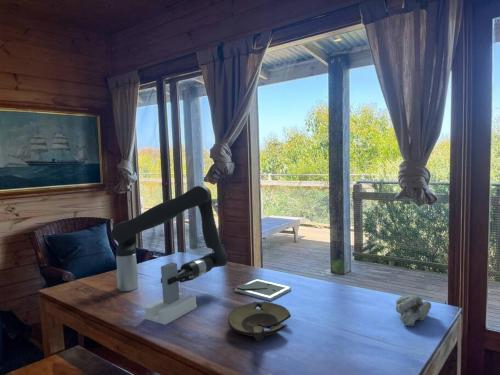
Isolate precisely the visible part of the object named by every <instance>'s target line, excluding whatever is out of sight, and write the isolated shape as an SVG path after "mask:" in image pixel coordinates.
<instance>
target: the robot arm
mask: <svg viewBox="0 0 500 375" xmlns="http://www.w3.org/2000/svg"><path fill="white" fill-rule="evenodd" d="M194 207H195V208H196V207H198V209H199V213H200V218H201V232H202V236H203V241H204V244H205V247H206V248H207V249H210V250H212V252H210V253H207V254H205V255H204V256H202V257H200V258H197V259H193V260H190V261H188V262H185V263H183V264H181V266H180V268H177V271H178V275H176V276H175V277H172V278H170V279H168V280H167V284H168V285H170V284H172V283H175V282H176V283H177V282H178V283H179V284H180V283H186V282H189V281H192V280H195V279H196V278H197V279H198V277H201V276H203V275H204V274H206V273H208V272H210V271H211V270H213V269H214V268H221V267H225V266H226V265H227V263H228V259H229V258H228V253H227V252H226V250H225V248H224V246H223V244H222V242H221V239H220V236H219V232H218V229H217V228H218V227H217V225H216V221H215V216H214V215H215V214H214V210H213V200H212V192H211V190H210V188H209V187H207V186H205V185H195V186H194V187H192V188H191V189H189V190H187V191H185V192H184V193H183V194H181V195H179V196H176V197H174V198H171V199H168V200H164V201H163V202H161V203H159V204H156V205H154V206H153V207H151V208H149V209H147V210H145V211H144V212H141V213H140V214H139V215H137V216H135V217H133V218H131V219H129V220H123V221H121V222H119V223H117V224H115V225H114V226H113V227H112V229H111V232H110V233H111V234H110V235H111V238H112V239H113V240H114V241H116V242H118V243H117V246H116V249H115V257H116V258H115V260H116V270H115V272H116V275H115V276H116V285H117V286H116V288H117V289H118V291H119V292H130V291H134V290H136V289H138V287H139V280H138V264H137V252H136V251H137V245H138V244H137V240H138V239H137V237H138V236H137V234H139V233H142V232H144V231H148V230H150V229H152V228H153V229H154V228H155V227H158V226H161V225H163V224H165V223H167V222H169V221H171V220H173V219H175V218H176V217H178V216H179V215H180V214H182V213H183V212H185V211H187V210H189V209H193V208H194ZM160 283H161V284H162V277H160Z"/></svg>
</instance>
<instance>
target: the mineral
mask: <svg viewBox="0 0 500 375" xmlns="http://www.w3.org/2000/svg"><path fill="white" fill-rule="evenodd" d="M395 303H396V306H395V310H396V312H397V313H398V314H400V315H401V316H400V320H401V322H402V324H403V325H405V326H408V327H410V326H412V327H413V326H415V322H416V321H424V320H426V318H425V317H427V316H428V314H429V313H430V310H431V309H432V303H431V302H429V301H428V300H425V301H423V298H422V297H421V296H419V295H413V294H408V295H400V297H398V298H397V299H396V301H395Z"/></svg>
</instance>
